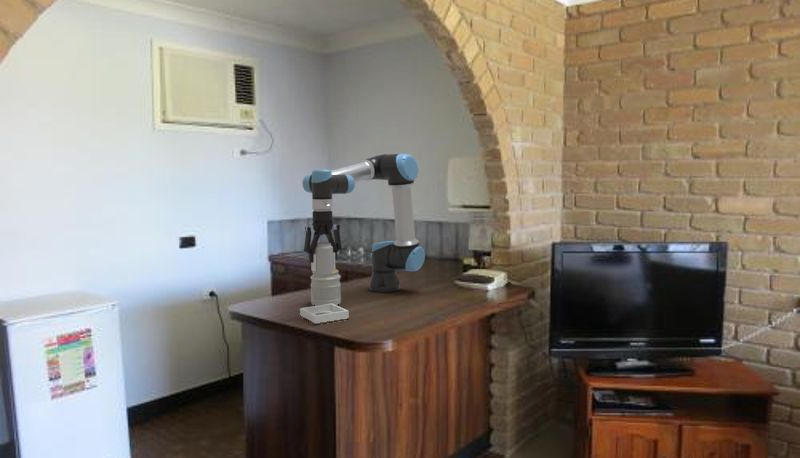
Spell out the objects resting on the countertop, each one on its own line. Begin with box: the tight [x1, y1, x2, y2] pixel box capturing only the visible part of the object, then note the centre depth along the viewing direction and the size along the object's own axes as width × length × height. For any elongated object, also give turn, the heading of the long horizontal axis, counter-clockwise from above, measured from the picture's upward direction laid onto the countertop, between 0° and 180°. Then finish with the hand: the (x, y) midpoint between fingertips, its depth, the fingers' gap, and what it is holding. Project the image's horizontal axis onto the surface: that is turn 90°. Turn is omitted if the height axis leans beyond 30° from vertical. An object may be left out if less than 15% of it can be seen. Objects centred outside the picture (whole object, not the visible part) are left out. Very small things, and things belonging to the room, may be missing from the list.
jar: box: [309, 268, 342, 306], centre depth 233 cm, size 13×13×18 cm
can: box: [314, 241, 333, 275], centre depth 208 cm, size 8×8×12 cm
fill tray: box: [299, 304, 350, 323], centre depth 211 cm, size 14×14×4 cm
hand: (323, 269), depth 209 cm, fingers closed on can, 7 cm apart
